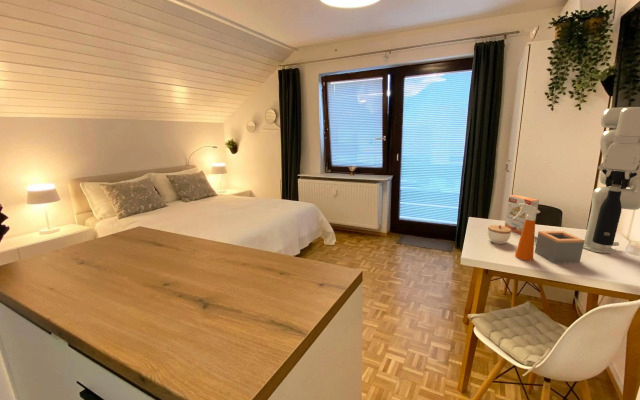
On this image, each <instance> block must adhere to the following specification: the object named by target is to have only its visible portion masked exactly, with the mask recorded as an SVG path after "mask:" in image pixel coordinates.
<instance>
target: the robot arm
mask: <svg viewBox="0 0 640 400" xmlns="http://www.w3.org/2000/svg"><path fill="white" fill-rule="evenodd" d="M600 125H601V127H602V128H605V129H606V128H608V130H605V131H604V132H602V133H601V136H600V141H599V142H600V143H599V144H600V150H601V153H602V158H603V159H602V163H600V165H599V166H597V169H598V171H599V170H600V176H599V182H600V183H601V185H605V186H599V187H597V188H595V189H594V190H593V191H592V194H591V209H590V213H589V219H588V223H587V228H586V232H585V238H584V240H585V242H584V246H583V250H587V251H591V252H594V253H601V254H612V253H613V252H614V249H613V248H612V247H619V245H620V243H619V241H614V243H613V245H611V246H607V245H601V244H597V243H595V242H593V241H592V240H593V236H594V231H595V227H596V223H597V219H598V214H599V210H600V207H601V205H602V203H603V201H604V200H605V199H606V197H607V195H608V191H609V190H610V187H611V186H617V185H612V183H613V180H612V179H611V178H612V173H613V171H623V172H625V178H624V179H623V180H622V183H621V196H620V201H621V210H623V209H624V210H631V211H632V210H633V211H636V210H639V209H640V106H630V107H629V106H627V107H624V106H623V107H608V108H606V109H605V110H604V111H603V112H602V114H601V118H600Z"/></svg>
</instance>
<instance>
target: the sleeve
mask: <svg viewBox="0 0 640 400" xmlns="http://www.w3.org/2000/svg"><path fill="white" fill-rule="evenodd" d="M584 242H585V239H583V238H580V237H578V236H575V235H573V234H571V233H569V232H566V231H564V230H550V231H549V230H543V231H542V230H540V231H539V230H538V232H537V238H536V242H535V243H536V244H535V247H534V253H535V254H537V255H538V256H541V257H542V258H544V259H545V260H547V261H549V262H551V263H552V264H580V263H581V258H582V254H583V250H584V248H583V246H584Z"/></svg>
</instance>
